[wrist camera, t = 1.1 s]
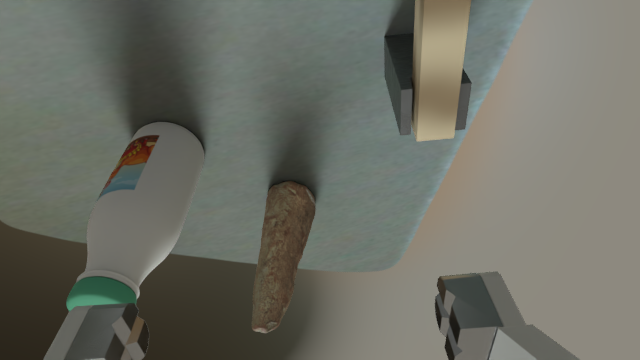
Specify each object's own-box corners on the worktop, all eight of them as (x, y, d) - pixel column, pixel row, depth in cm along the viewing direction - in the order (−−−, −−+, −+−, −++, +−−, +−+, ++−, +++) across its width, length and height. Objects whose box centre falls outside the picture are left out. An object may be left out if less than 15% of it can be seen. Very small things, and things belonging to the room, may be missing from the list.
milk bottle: (195, 116, 43) (129, 278, 28) (213, 173, 48) (166, 336, 33) (122, 121, 43) (17, 284, 28) (148, 177, 48) (71, 340, 33)
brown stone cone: (281, 168, 48) (260, 200, 52) (235, 297, 34) (210, 328, 38) (327, 193, 50) (303, 222, 53) (301, 327, 36) (271, 354, 39)
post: (384, 36, 37) (401, 90, 30) (440, 30, 37) (471, 82, 30) (384, 77, 40) (400, 135, 33) (437, 71, 40) (464, 129, 32)
